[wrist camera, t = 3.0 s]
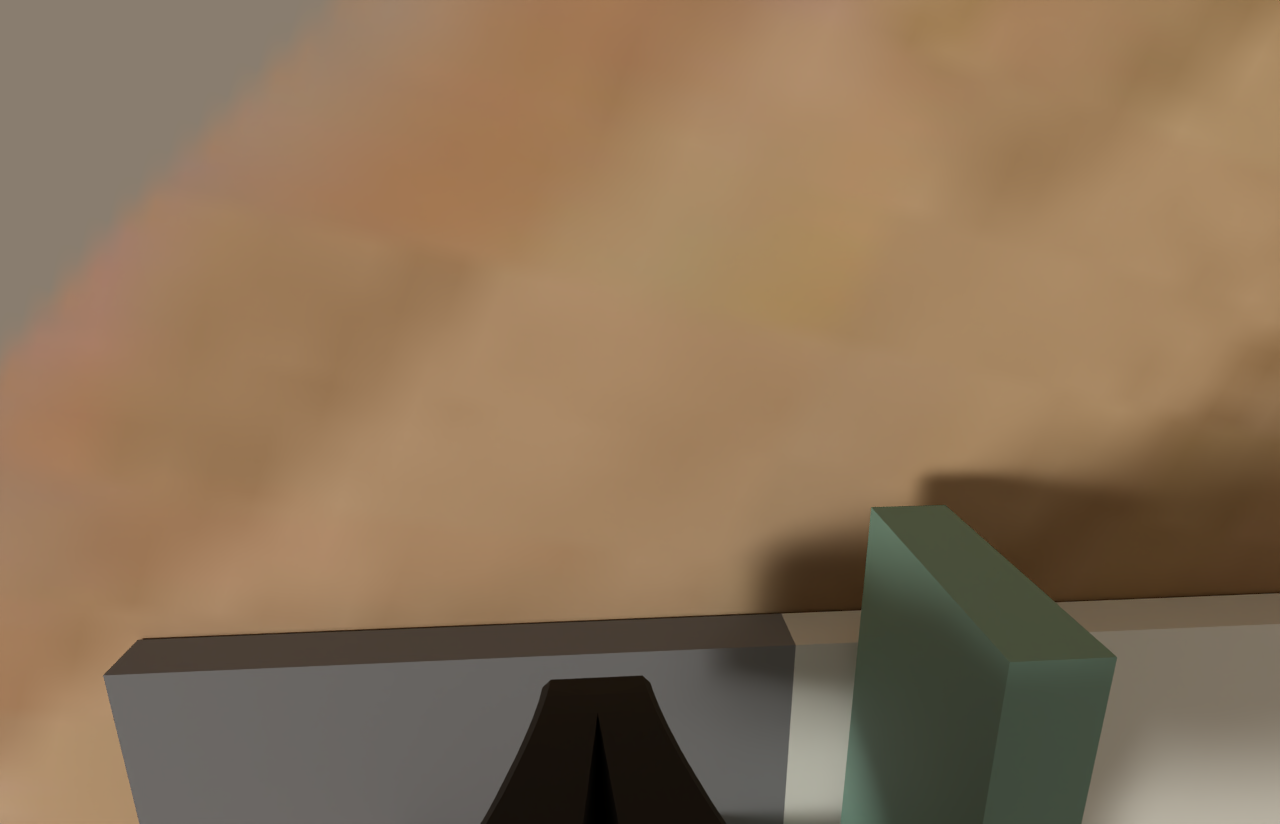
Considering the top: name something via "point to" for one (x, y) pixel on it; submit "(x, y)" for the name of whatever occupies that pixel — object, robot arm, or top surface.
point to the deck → (689, 699)
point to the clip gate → (966, 685)
